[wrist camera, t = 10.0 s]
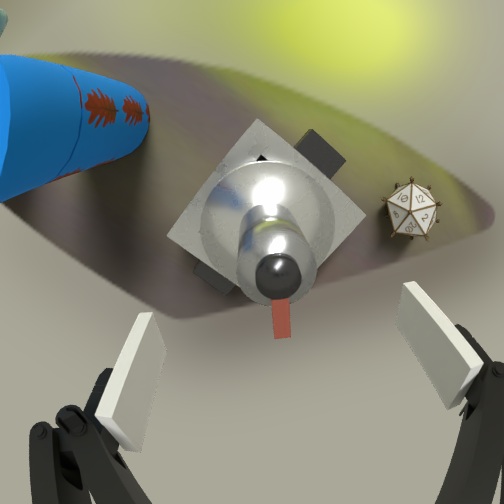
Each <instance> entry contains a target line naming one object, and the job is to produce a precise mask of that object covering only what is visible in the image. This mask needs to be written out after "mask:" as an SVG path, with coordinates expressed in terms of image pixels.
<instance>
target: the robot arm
mask: <svg viewBox="0 0 504 504" xmlns="http://www.w3.org/2000/svg"><path fill="white" fill-rule="evenodd" d="M7 22H8V16H7V14H6V12H5V11H4V10H2V9H1V8H0V36H1V35H2V33H3V31H4V29H5V27H6V25H7ZM395 324H396V326H397V327H398V329H399V330H400V331H401V333H402V335H403V336H404V338H405V340H406V341H407V343H408V344H409V346H410V348H411V349H412V351H413V352H414V354H415V356H416V357H417V359H418V360H419V362H420V364H421V365H422V367H423V369H424V370H425V372H426V374H427V375H428V377H429V379H430V380H431V382H432V384H433V386H434V387H435V389H436V391H437V392H438V394H439V396H440V398H441V400H442V401H443V403H444V405H445V407H446V409H447V410H449V409H451V408H453V407H455V406H457V405H459V404H460V403H461V401H462V400H463V398H464V397H466V399H467V400H468V401H467V403H466V404H465V406H464V408H463V409H462V411H461V412H460V414H459V416H461V415H462V413H463V412H464V414H463V419H462V423H461V427H460V432H459V435H458V439H457V443H456V446H455V450H454V453H453V456H452V459H451V463H450V466H449V469H448V472H447V474H446V477H445V480H444V483H443V485H442V488H441V491H440V493H439V495H438V498H437V500H436V502H435V504H491V503H492V500H493V497H494V494H495V490H496V486H497V482H498V478H499V474H500V470H501V465H502V481H501V497H500V504H504V363H501V362H496V361H495V362H493V361H492V360H491V359H490V358H489V356H488V355H487V354H486V352H485V351H484V350H483V349H482V347H481V346H480V345H479V344H478V343H477V342H476V340H475V339H474V338H472V335H471V334H470V333H469V332H468V331H467V330H466V329H465V328H464V327H462V326H461V325H459V324H457V325H453V324H452V322H451V321H450V320H449V319H448V318H447V317H446V315H445V314H444V313H443V312H442V311H441V310H440V309H439V308H438V306H437V305H436V304H435V303H434V302H433V301H432V300H431V299H430V298H429V296H428V295H427V294H426V293H425V292H424V291H423V290H422V289H421V288H420V286H418V284H417V283H416V282H415V281H413V282H407V283H403V287H402V293H401V298H400V303H399V308H398V313H397V318H396V323H395ZM166 353H167V350H166V348H165V345H164V342H163V340H162V337H161V334H160V331H159V329H158V326H157V323H156V320H155V317H154V315H153V312H146V313H139V315H138V317H137V319H136V321H135V323H134V325H133V327H132V330H131V332H130V334H129V336H128V338H127V340H126V342H125V344H124V347H123V349H122V351H121V353H120V356H119V358H118V360H117V363H116V365H115V367H114V368H106V369H105V370H104V371H103V372H102V373H101V374H100V375H99V377H98V379H97V381H96V383H95V386H94V388H93V390H92V393H91V395H90V397H89V399H88V401H87V404H86V406H85V409H84V411H82V410H81V409H80V407H78V406H76V405H68V406H65V407H63V408H62V409H60V411H59V412H58V413H57V415H56V424H57V425H58V426H59V427H60V428H52V427H51V426H50V424H49V423H47V422H38V423H36V424H35V425H34V426H33V427H32V429H31V430H30V435H29V465H30V482H31V483H30V484H31V495H32V504H92V502H91V498H90V494H89V491H90V493H91V495H92V496H93V499H94V501H95V503H96V504H152V503H151V501H150V500H149V499H148V498H147V496H146V494H145V493H144V491H143V490H142V488H141V487H140V485H139V484H138V483H137V481H136V479H135V478H134V476H133V475H132V473H131V471H130V470H129V468H128V466H127V465H126V463H125V461H124V460H123V458H122V456H121V454H120V453H119V452H118V451H117V450H118V447H119V444H120V445H121V447H122V448H123V449H125V450H126V451H133V452H141V449H142V445H143V440H144V436H145V432H146V428H147V424H148V420H149V416H150V412H151V408H152V404H153V400H154V396H155V393H156V388H157V385H158V381H159V378H160V374H161V370H162V367H163V363H164V360H165V356H166Z"/></svg>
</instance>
